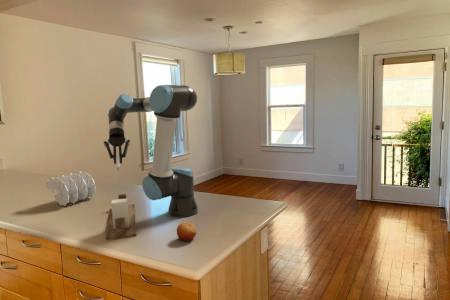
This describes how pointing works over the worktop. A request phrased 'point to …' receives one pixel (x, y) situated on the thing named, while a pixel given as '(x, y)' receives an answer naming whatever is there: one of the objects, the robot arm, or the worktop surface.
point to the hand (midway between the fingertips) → (118, 168)
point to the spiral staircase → (71, 187)
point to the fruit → (186, 231)
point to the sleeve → (120, 211)
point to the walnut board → (122, 224)
